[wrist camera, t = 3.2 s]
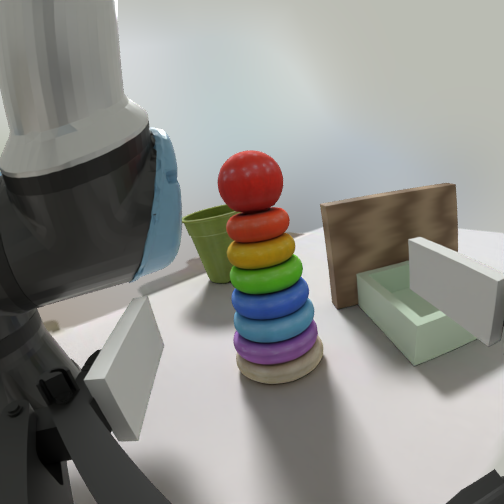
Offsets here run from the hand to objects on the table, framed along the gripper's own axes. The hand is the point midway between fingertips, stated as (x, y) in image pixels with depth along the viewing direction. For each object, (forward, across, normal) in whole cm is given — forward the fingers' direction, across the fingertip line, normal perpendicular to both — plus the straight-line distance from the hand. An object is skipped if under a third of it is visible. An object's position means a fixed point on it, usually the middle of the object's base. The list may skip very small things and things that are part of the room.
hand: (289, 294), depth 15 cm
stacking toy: (+11, 0, -12) cm, 16 cm away
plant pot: (+38, -4, -12) cm, 40 cm away
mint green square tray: (+12, +17, -12) cm, 23 cm away
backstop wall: (+20, +17, -12) cm, 28 cm away
